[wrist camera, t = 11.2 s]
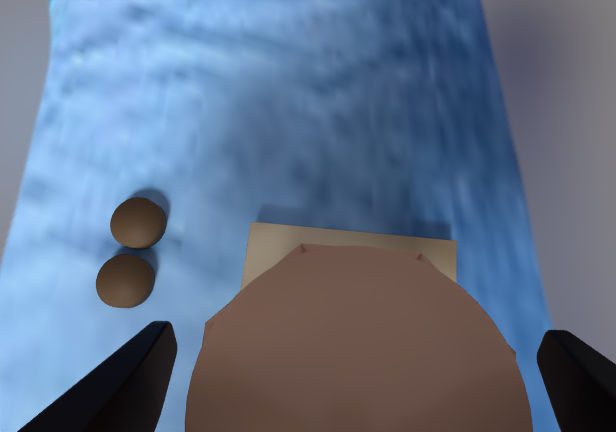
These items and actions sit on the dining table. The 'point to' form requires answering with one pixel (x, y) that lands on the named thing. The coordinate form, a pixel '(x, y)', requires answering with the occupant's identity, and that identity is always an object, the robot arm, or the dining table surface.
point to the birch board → (284, 238)
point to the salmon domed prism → (355, 352)
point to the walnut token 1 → (138, 223)
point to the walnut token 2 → (125, 281)
